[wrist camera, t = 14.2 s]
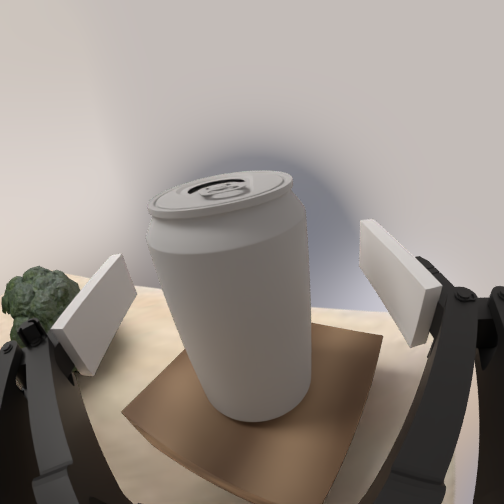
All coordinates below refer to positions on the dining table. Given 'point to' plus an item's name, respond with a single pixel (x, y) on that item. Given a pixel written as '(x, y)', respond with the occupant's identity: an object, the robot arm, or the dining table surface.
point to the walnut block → (265, 424)
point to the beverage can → (238, 287)
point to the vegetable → (38, 298)
